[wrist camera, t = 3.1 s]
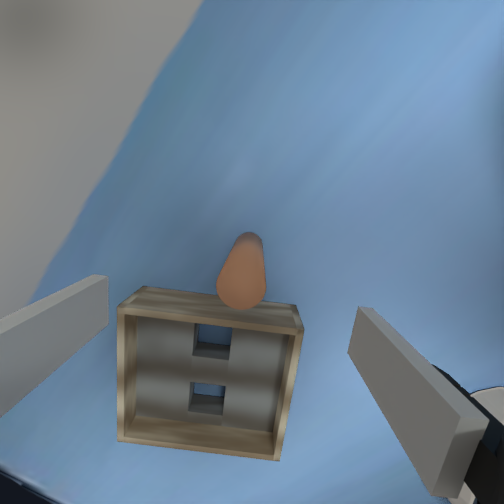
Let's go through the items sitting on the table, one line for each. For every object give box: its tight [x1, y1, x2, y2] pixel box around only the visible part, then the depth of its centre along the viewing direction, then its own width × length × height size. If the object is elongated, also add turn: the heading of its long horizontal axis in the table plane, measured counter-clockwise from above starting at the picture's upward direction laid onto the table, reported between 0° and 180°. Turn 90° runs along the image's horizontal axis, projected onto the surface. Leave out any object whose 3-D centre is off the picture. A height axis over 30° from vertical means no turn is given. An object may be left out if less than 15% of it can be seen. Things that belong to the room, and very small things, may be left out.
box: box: [117, 286, 304, 461], centre depth 31 cm, size 18×20×6 cm
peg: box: [216, 232, 266, 310], centre depth 24 cm, size 3×3×14 cm
